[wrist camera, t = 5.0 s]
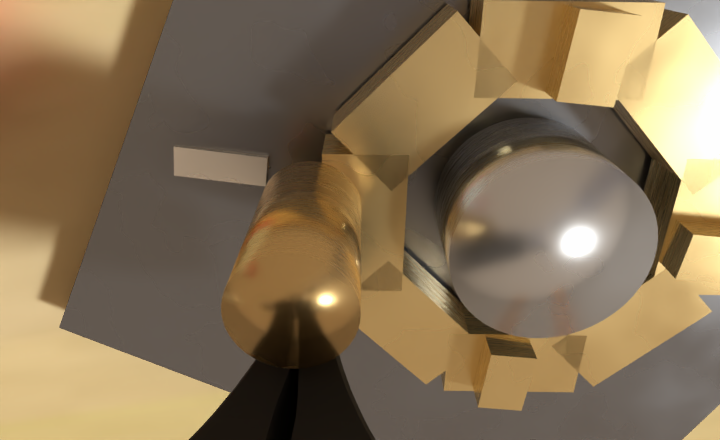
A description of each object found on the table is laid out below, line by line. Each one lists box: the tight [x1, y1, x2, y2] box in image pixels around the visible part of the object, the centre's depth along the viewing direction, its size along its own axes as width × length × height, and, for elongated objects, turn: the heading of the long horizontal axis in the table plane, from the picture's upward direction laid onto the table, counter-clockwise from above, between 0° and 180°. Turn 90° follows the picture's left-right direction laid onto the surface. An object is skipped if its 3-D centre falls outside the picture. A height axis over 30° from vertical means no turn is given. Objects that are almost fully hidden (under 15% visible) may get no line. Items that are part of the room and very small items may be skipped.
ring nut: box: [221, 0, 720, 411], centre depth 13 cm, size 11×10×6 cm
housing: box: [59, 0, 720, 440], centre depth 14 cm, size 20×20×4 cm
